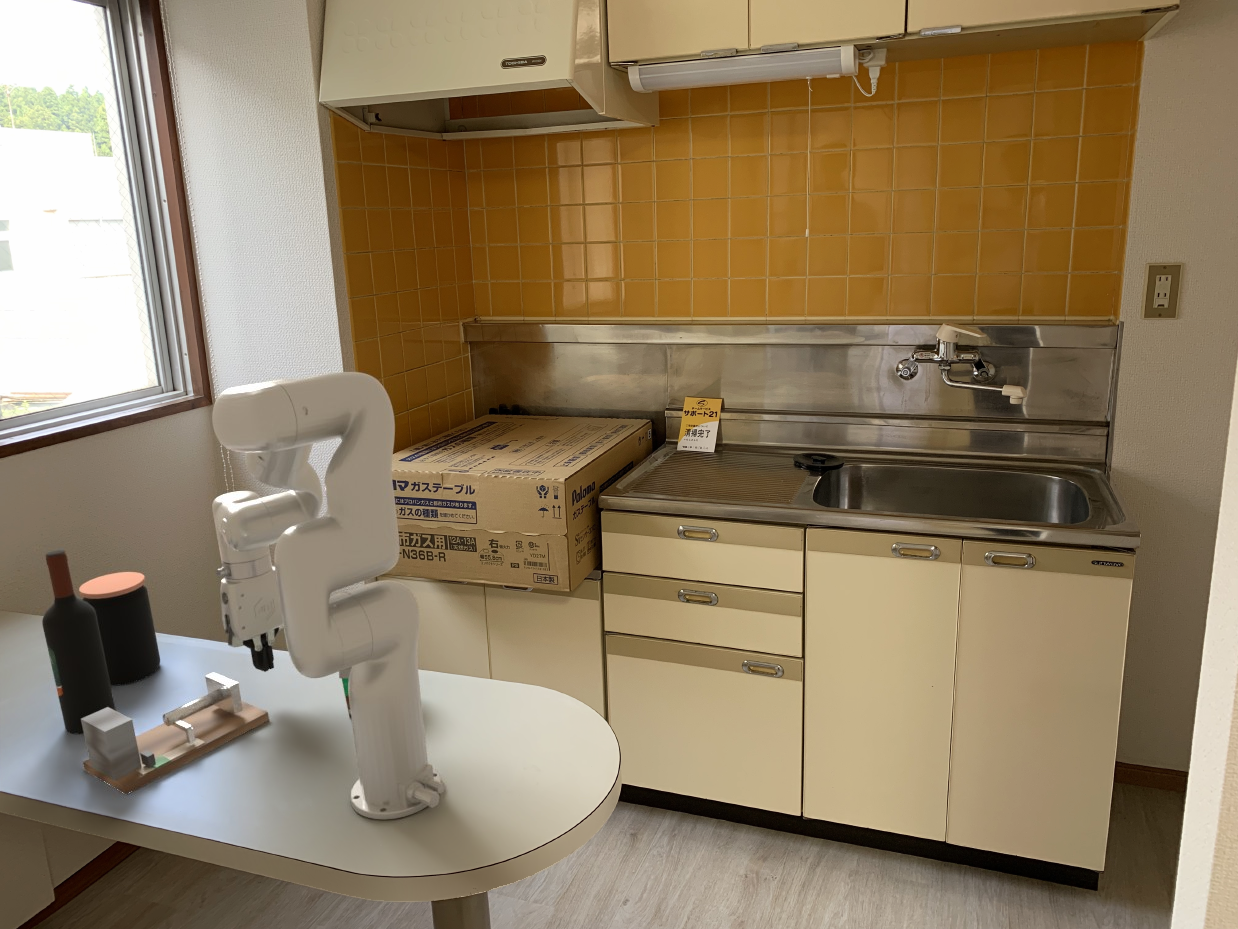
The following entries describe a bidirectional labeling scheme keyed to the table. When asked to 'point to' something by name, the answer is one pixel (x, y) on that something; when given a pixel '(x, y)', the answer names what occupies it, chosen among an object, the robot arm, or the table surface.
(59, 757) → the table surface
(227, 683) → the plunger
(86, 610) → the wine bottle
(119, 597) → the coffee jar
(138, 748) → the gauge board
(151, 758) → the dark grey small block
